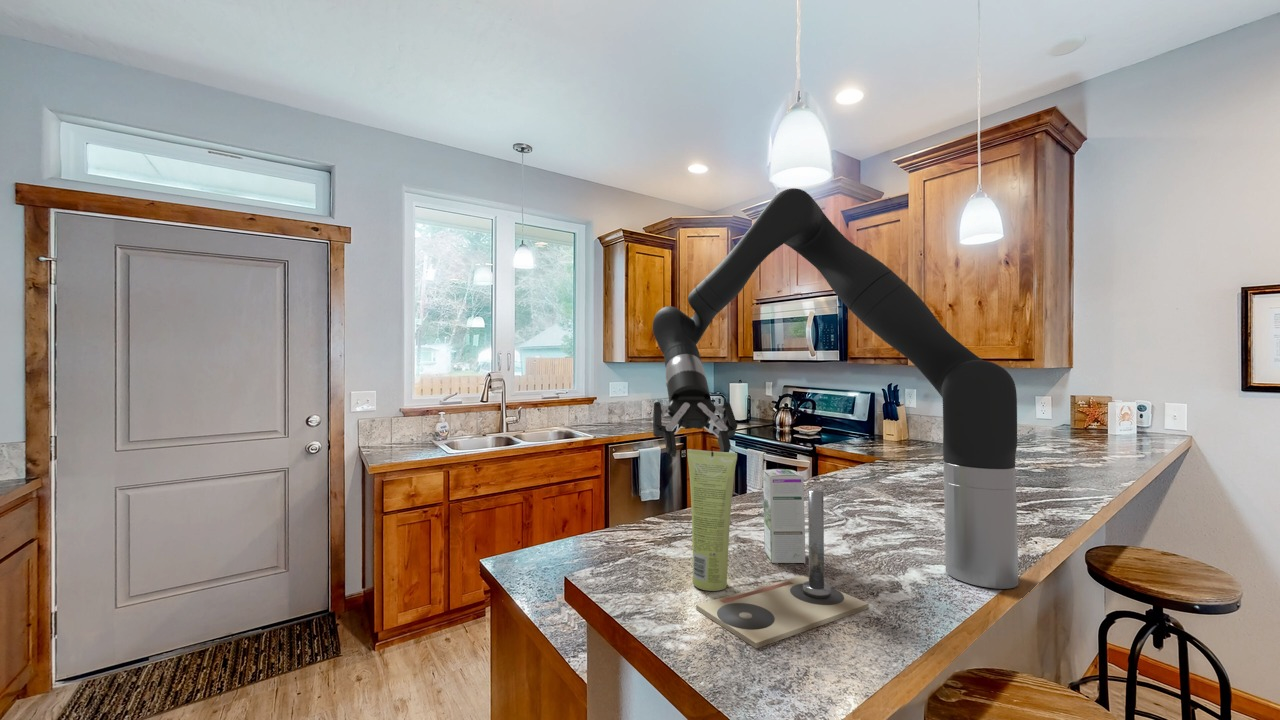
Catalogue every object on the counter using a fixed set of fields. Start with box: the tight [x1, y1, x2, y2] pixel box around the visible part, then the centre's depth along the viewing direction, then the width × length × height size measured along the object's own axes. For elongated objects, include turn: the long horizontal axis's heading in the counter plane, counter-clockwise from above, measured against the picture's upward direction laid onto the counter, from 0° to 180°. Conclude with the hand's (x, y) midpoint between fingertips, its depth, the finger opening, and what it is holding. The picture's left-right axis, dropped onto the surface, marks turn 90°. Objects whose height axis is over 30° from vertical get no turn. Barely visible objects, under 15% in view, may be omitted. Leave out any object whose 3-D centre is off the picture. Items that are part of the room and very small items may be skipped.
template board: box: [695, 575, 870, 649], centre depth 65 cm, size 20×11×1 cm, turn 121°
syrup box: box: [762, 468, 806, 565], centre depth 84 cm, size 6×6×14 cm
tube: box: [686, 448, 738, 592], centre depth 73 cm, size 6×5×20 cm
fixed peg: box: [803, 488, 832, 599], centre depth 69 cm, size 4×4×14 cm
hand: (699, 453), depth 81 cm, fingers open, 8 cm apart
